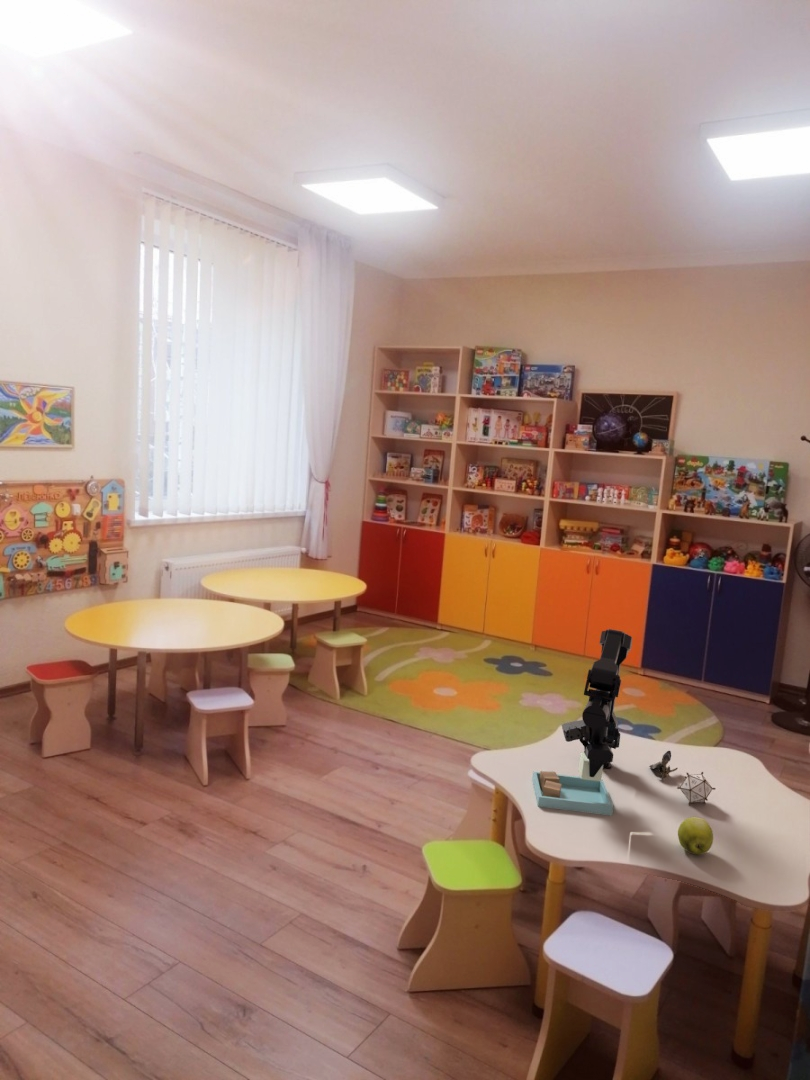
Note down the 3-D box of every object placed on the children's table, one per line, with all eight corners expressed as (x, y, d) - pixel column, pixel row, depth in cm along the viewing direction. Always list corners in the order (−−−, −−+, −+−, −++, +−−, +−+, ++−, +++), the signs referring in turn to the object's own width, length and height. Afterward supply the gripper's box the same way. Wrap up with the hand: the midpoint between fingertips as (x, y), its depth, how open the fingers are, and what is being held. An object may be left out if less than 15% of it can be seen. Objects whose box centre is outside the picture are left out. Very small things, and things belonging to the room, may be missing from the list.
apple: (706, 844, 187) (711, 813, 186) (713, 865, 179) (719, 832, 177) (672, 838, 189) (678, 807, 188) (678, 858, 180) (683, 826, 179)
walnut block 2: (544, 794, 203) (546, 780, 203) (559, 798, 202) (561, 784, 202) (541, 801, 200) (543, 786, 199) (557, 805, 198) (559, 790, 198)
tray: (531, 782, 211) (533, 771, 211) (600, 790, 210) (602, 779, 210) (537, 808, 197) (539, 797, 196) (611, 817, 196) (613, 806, 196)
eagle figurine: (683, 779, 220) (676, 760, 228) (673, 759, 218) (666, 741, 227) (657, 788, 222) (651, 769, 230) (647, 769, 220) (641, 750, 229)
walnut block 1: (538, 785, 208) (540, 771, 208) (553, 785, 209) (555, 771, 208) (542, 792, 205) (544, 778, 204) (557, 793, 205) (559, 778, 204)
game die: (684, 815, 209) (665, 782, 209) (698, 796, 215) (680, 764, 215) (713, 813, 202) (693, 780, 202) (726, 793, 208) (707, 761, 208)
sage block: (578, 770, 205) (580, 752, 204) (597, 772, 205) (600, 754, 204) (581, 779, 200) (583, 760, 199) (600, 781, 200) (603, 763, 199)
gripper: (561, 698, 209) (554, 753, 212) (571, 725, 191) (563, 785, 194) (603, 703, 209) (595, 758, 211) (617, 730, 190) (608, 790, 193)
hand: (589, 772), depth 202 cm, fingers closed on sage block, 5 cm apart
